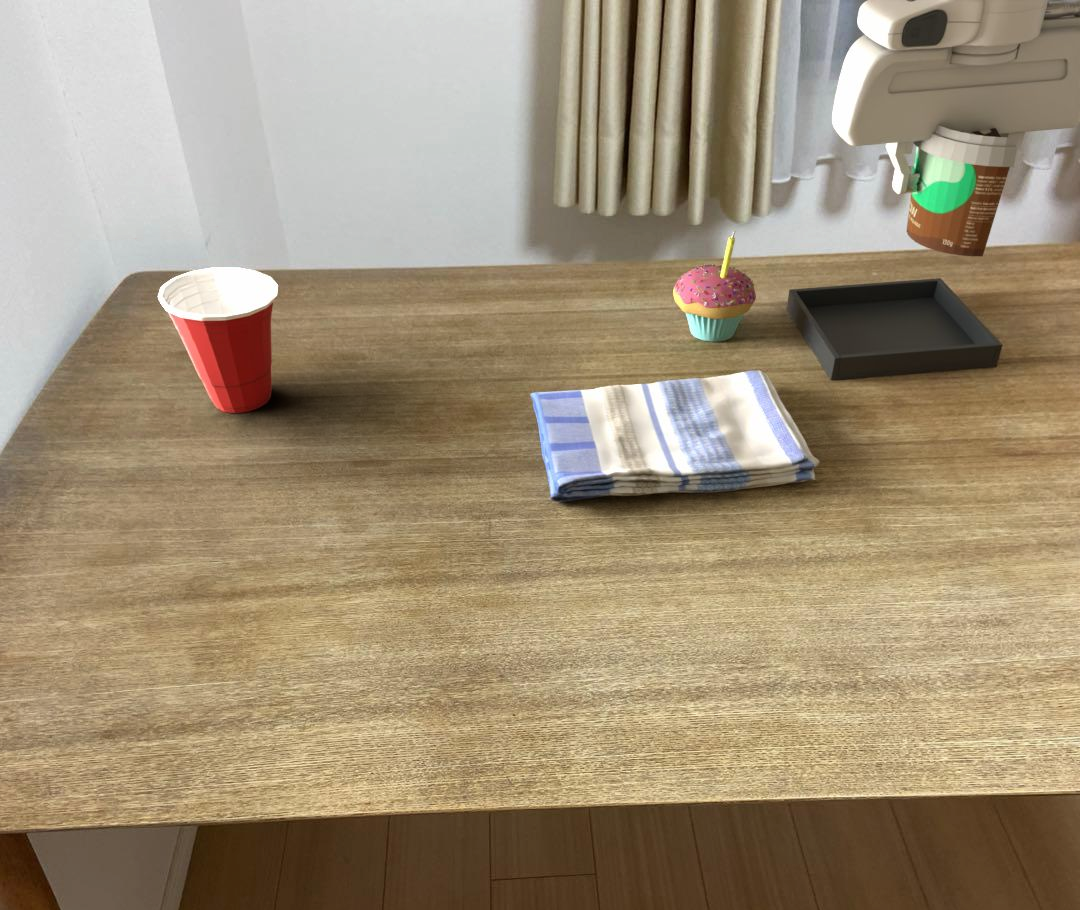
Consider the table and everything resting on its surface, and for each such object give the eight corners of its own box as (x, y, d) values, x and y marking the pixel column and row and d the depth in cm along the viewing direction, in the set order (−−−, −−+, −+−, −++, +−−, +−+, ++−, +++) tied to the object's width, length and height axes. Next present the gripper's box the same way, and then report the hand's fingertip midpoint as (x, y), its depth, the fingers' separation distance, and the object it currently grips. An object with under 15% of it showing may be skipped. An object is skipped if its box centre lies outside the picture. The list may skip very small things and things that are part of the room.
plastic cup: (308, 413, 99) (285, 301, 92) (195, 437, 97) (161, 323, 89) (290, 361, 107) (267, 254, 100) (184, 382, 105) (153, 273, 97)
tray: (935, 298, 114) (940, 277, 113) (996, 366, 103) (1003, 344, 101) (786, 310, 113) (789, 289, 112) (830, 380, 102) (834, 358, 100)
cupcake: (767, 335, 109) (781, 227, 101) (707, 359, 105) (717, 249, 98) (713, 306, 114) (723, 201, 107) (654, 327, 111) (660, 221, 103)
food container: (877, 207, 93) (898, 93, 87) (945, 205, 93) (971, 90, 87) (912, 265, 84) (938, 142, 77) (988, 264, 84) (1020, 139, 77)
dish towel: (820, 487, 88) (825, 461, 86) (550, 511, 87) (550, 485, 85) (765, 384, 101) (768, 359, 100) (530, 402, 100) (529, 378, 98)
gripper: (1091, -12, 80) (1043, 164, 89) (839, 6, 79) (815, 184, 88) (1137, 6, 75) (1081, 191, 84) (869, 27, 74) (840, 212, 83)
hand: (943, 187), depth 86 cm, fingers closed on food container, 6 cm apart
